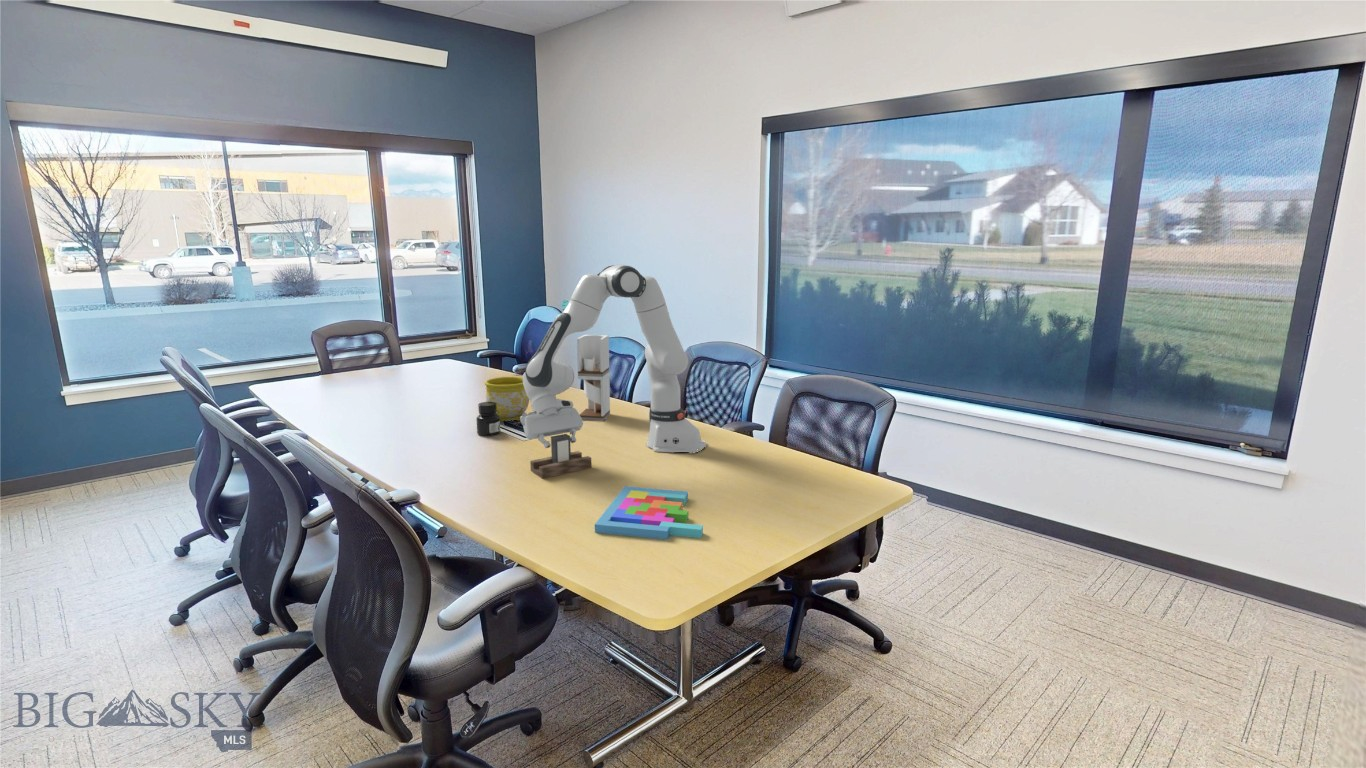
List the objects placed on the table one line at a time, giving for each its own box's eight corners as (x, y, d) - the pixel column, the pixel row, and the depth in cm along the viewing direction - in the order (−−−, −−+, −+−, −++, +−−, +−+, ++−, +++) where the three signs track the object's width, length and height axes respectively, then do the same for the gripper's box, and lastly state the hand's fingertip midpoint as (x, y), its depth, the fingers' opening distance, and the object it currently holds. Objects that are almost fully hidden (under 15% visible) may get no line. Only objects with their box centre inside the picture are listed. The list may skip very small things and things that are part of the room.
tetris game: (594, 534, 174) (699, 544, 169) (594, 524, 174) (699, 534, 168) (625, 494, 201) (715, 502, 196) (624, 486, 201) (715, 493, 195)
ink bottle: (496, 436, 257) (494, 406, 254) (473, 436, 257) (471, 406, 254) (503, 429, 266) (502, 400, 264) (481, 429, 266) (480, 400, 264)
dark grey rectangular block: (551, 465, 221) (550, 436, 218) (566, 462, 224) (565, 433, 222) (556, 467, 218) (555, 438, 216) (571, 464, 222) (570, 436, 219)
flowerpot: (524, 424, 275) (522, 385, 271) (481, 423, 275) (478, 385, 271) (534, 412, 292) (532, 376, 289) (493, 412, 292) (491, 376, 289)
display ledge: (578, 460, 230) (578, 450, 229) (591, 467, 223) (591, 457, 222) (530, 470, 220) (530, 460, 219) (542, 478, 213) (542, 468, 212)
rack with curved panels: (586, 413, 292) (584, 334, 285) (610, 414, 291) (608, 335, 283) (579, 419, 281) (577, 338, 274) (603, 421, 280) (601, 339, 272)
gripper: (520, 409, 216) (534, 445, 211) (576, 400, 228) (590, 434, 223) (515, 419, 221) (529, 454, 215) (570, 410, 233) (584, 443, 227)
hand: (561, 444), depth 219 cm, fingers open, 8 cm apart
